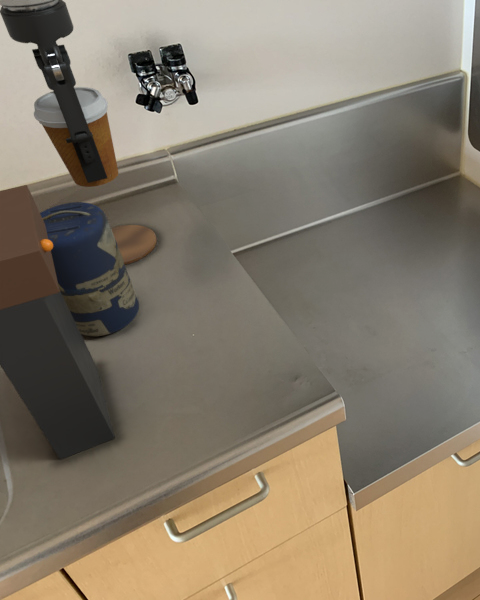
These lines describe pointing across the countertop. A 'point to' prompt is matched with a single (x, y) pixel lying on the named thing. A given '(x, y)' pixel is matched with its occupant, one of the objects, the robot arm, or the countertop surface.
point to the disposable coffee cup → (58, 133)
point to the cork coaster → (134, 241)
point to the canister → (90, 268)
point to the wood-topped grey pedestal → (45, 335)
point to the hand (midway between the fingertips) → (92, 165)
